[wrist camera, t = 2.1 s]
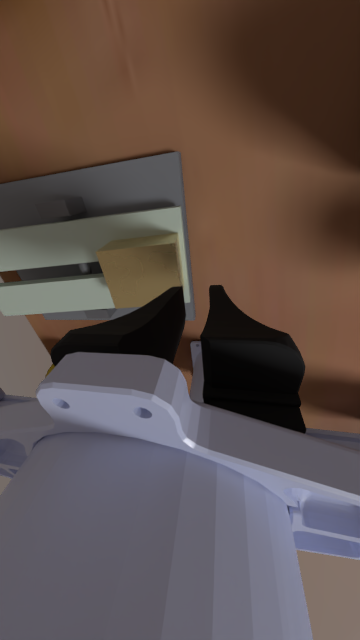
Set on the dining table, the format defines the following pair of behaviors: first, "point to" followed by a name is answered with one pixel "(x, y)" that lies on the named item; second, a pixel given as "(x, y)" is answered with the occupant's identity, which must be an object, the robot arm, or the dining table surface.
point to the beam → (75, 259)
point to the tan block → (141, 268)
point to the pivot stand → (95, 210)
